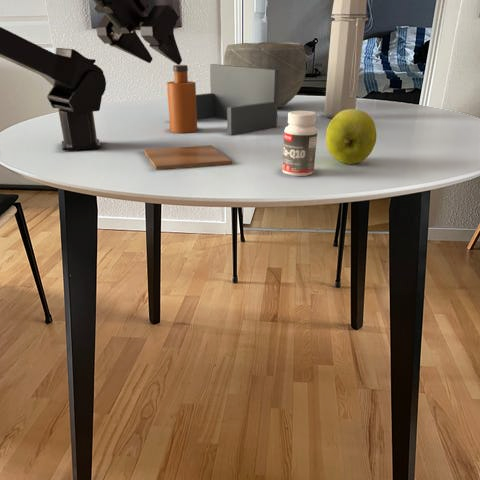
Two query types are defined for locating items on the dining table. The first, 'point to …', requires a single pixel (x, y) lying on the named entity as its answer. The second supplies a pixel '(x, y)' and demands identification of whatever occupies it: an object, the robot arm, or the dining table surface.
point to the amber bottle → (182, 102)
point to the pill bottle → (300, 143)
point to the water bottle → (344, 55)
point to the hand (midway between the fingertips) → (165, 61)
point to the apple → (351, 136)
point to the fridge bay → (241, 98)
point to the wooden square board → (185, 157)
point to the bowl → (272, 63)
